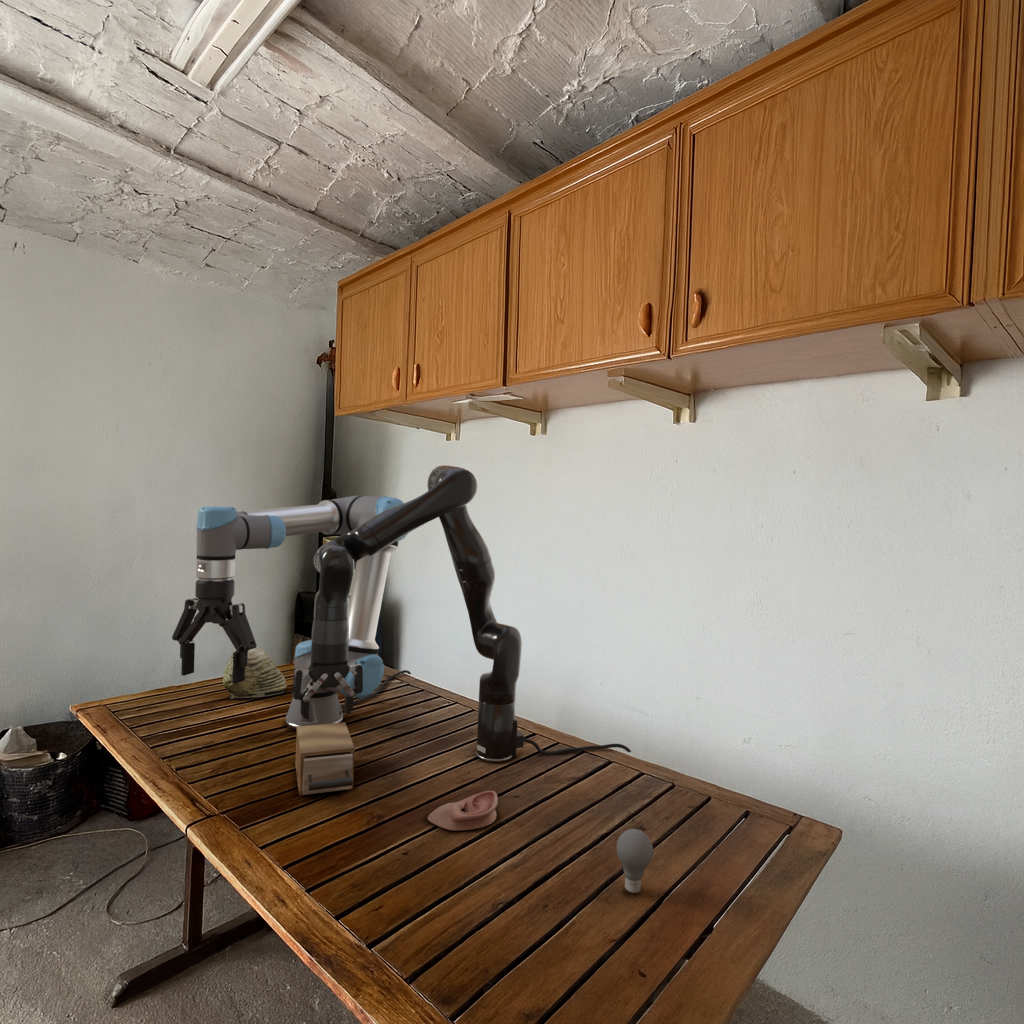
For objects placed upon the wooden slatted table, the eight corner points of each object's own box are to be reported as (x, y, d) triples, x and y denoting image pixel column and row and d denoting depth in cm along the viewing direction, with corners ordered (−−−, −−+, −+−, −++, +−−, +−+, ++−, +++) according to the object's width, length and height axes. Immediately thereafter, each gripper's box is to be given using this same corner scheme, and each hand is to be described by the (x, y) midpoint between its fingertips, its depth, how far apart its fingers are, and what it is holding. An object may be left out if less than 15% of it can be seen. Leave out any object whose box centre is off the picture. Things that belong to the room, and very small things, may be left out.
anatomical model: (422, 806, 123) (441, 781, 134) (422, 826, 123) (440, 799, 134) (489, 816, 120) (502, 789, 132) (488, 836, 121) (501, 808, 132)
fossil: (218, 695, 195) (220, 647, 195) (278, 685, 208) (279, 640, 207) (228, 703, 189) (230, 653, 188) (289, 692, 201) (290, 645, 201)
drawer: (355, 801, 131) (356, 766, 131) (304, 807, 127) (306, 772, 127) (343, 760, 150) (344, 730, 150) (298, 765, 146) (300, 734, 146)
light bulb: (610, 879, 108) (613, 822, 108) (644, 879, 109) (647, 822, 109) (619, 902, 102) (622, 840, 102) (655, 901, 103) (658, 840, 103)
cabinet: (353, 788, 138) (354, 747, 138) (299, 795, 134) (300, 753, 134) (343, 759, 153) (345, 722, 153) (295, 764, 149) (296, 726, 149)
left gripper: (155, 576, 135) (152, 675, 135) (250, 585, 127) (247, 690, 128) (183, 572, 142) (181, 666, 143) (275, 581, 134) (272, 680, 135)
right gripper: (298, 645, 126) (295, 725, 127) (368, 640, 133) (365, 717, 134) (291, 637, 133) (288, 714, 133) (358, 633, 140) (355, 706, 140)
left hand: (212, 678), depth 135 cm, fingers open, 13 cm apart
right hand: (326, 715), depth 133 cm, fingers open, 8 cm apart
